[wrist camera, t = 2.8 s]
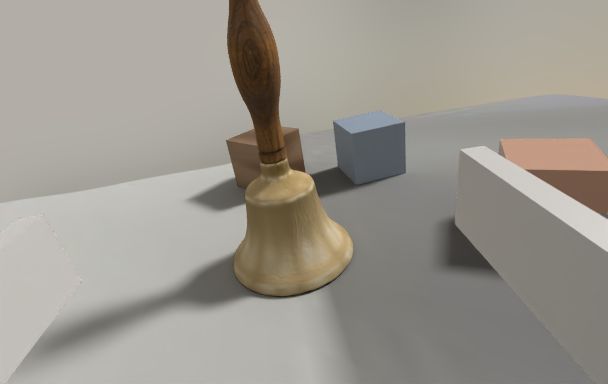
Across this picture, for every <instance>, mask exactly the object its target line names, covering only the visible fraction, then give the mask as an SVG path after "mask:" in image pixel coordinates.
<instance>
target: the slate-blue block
mask: <svg viewBox="0 0 608 384" xmlns="http://www.w3.org/2000/svg"><path fill="white" fill-rule="evenodd" d="M333 124H334V133H335V143H336V152H337V161H338V167H339V168H340V169H341V170H342V171H343V172H344V173H345V174H346V175H347V176H348V177H349V178H350V179H351V180H352V181H353V183H354V184H355V185H359V184H363V183H367V182H371V181H375V180H379V179H383V178H387V177H391V176H395V175H399V174H403V173H406V162H405V122H404V121H402V120H400V119H397V118H395V117H393V116H391V115H389V114H386V113H384V112H382V111H376V112H371V113H367V114H362V115H358V116H353V117H348V118H343V119H339V120H334V121H333Z"/></svg>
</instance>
